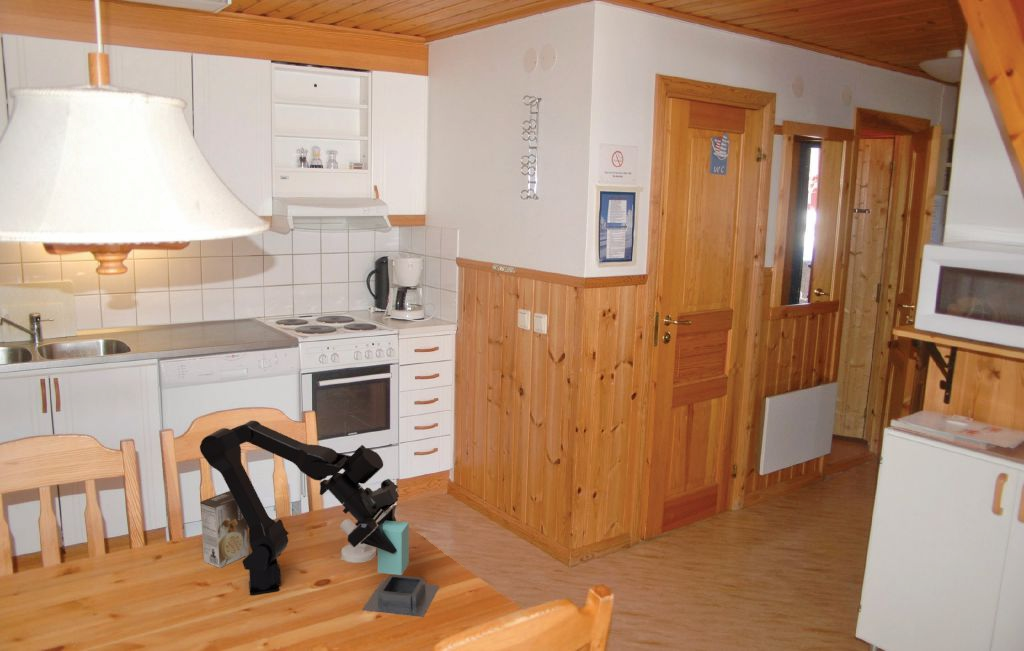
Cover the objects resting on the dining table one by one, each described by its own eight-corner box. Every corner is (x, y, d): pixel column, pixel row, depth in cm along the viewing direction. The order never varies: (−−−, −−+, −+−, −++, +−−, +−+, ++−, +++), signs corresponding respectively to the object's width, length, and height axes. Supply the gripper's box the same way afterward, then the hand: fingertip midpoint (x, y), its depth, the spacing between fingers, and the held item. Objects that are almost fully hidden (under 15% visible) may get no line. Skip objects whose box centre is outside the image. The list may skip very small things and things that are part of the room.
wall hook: (356, 512, 204) (382, 522, 199) (356, 547, 206) (383, 558, 200) (330, 523, 198) (357, 533, 192) (330, 558, 199) (357, 570, 193)
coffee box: (233, 548, 204) (230, 489, 201) (249, 554, 200) (247, 495, 198) (202, 562, 196) (199, 501, 193) (219, 569, 193) (216, 506, 190)
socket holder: (361, 615, 173) (361, 597, 172) (382, 584, 187) (382, 567, 186) (423, 622, 171) (423, 604, 170) (439, 590, 184) (439, 573, 184)
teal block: (377, 572, 175) (377, 530, 174) (385, 561, 181) (385, 520, 179) (401, 575, 175) (401, 532, 173) (408, 563, 180) (408, 522, 178)
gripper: (361, 488, 166) (411, 542, 166) (389, 459, 184) (435, 508, 184) (326, 520, 168) (376, 574, 168) (357, 488, 186) (402, 537, 186)
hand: (399, 546), depth 177 cm, fingers closed on teal block, 5 cm apart
